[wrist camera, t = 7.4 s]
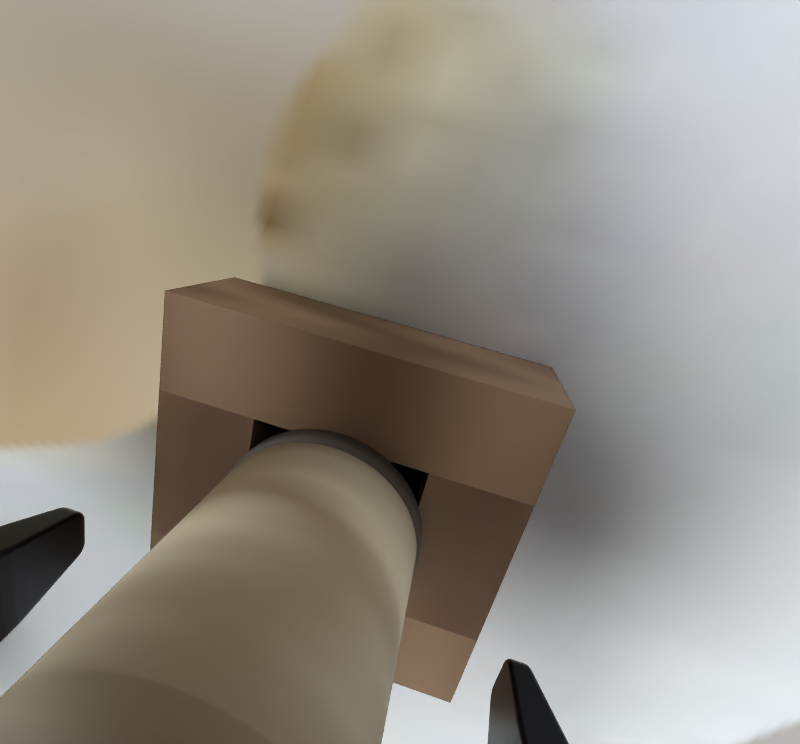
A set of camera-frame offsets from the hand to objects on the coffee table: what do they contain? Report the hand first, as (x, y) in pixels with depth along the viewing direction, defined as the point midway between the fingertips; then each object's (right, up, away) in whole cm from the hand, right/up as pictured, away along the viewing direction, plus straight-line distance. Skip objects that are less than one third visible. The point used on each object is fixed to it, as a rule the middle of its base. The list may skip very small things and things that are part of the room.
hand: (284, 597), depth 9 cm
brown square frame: (+1, +2, +5) cm, 6 cm away
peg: (+1, +2, +5) cm, 6 cm away
